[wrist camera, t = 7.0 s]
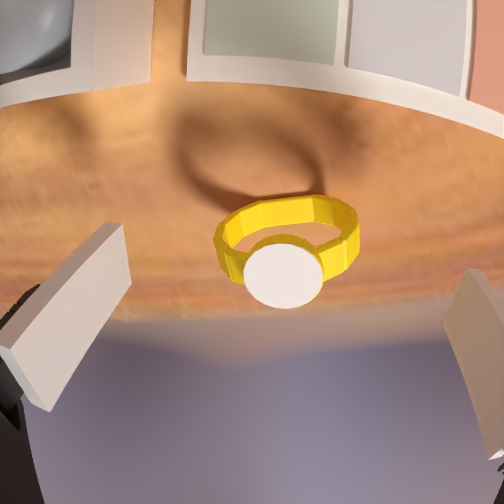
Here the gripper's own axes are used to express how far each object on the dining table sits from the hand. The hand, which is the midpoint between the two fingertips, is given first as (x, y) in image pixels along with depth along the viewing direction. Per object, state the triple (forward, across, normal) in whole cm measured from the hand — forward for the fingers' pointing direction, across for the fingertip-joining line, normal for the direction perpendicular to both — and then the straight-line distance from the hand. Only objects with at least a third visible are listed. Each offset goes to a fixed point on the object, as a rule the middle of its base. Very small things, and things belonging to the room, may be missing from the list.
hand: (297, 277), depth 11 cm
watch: (+6, 0, 0) cm, 6 cm away
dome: (+3, -13, +11) cm, 17 cm away
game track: (+5, +4, +11) cm, 13 cm away
